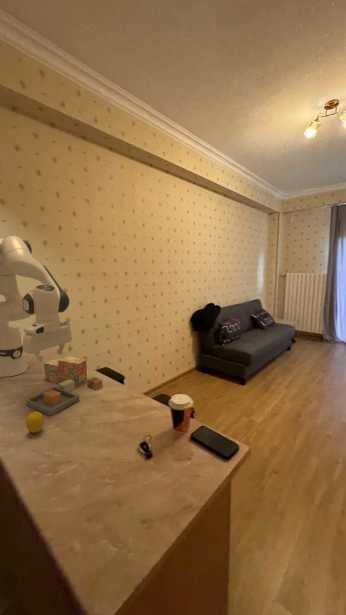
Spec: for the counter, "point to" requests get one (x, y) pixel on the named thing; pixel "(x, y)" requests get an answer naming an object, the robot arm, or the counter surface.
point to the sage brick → (67, 385)
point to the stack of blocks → (66, 370)
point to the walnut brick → (94, 383)
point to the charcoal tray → (51, 410)
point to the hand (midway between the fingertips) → (50, 357)
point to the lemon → (35, 422)
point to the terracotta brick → (52, 397)
